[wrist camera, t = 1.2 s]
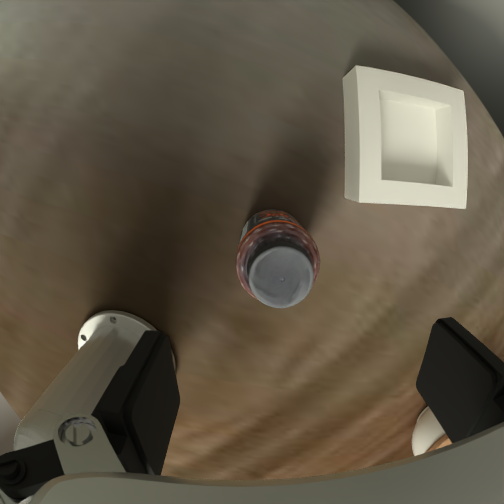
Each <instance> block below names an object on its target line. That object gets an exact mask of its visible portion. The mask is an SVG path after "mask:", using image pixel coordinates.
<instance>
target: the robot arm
mask: <svg viewBox="0 0 504 504" xmlns="http://www.w3.org/2000/svg"><path fill="white" fill-rule="evenodd" d="M175 368H176V365H175V359H174V355H173V353H172V350H171V345H170V339H169V336H168V335H164V333H163V331H157V330H156V329H155V328H154V327H153V326H152V325H151V324H149V323H148V322H146V321H145V320H143V319H142V318H139V317H137V316H135V315H133V314H130V313H127V312H123V311H116V310H108V311H102V312H99V313H96V314H95V315H93V316H92V317H90V318H89V319H88V320H87V321H86V322H85V323H84V325H83V326H82V328H81V329H80V332H79V335H78V351H77V353H76V354H75V355H74V356H73V357H72V359H71V360H70V361H69V362H68V363H67V364H66V366H65V367H64V368H63V369H62V370H61V372H60V373H59V374H58V375H57V376H56V378H55V379H54V380H53V381H52V383H51V384H50V385H49V386H48V388H47V389H46V390H45V391H44V392H43V394H42V395H41V396H40V398H39V399H38V400H37V401H36V403H35V404H34V405H33V406H32V408H31V409H30V410H29V412H28V413H27V414H26V415H25V417H24V418H23V419H22V421H21V422H20V424H19V426H18V428H17V431H16V434H15V440H14V451H13V452H9V453H6V454H3V455H1V456H0V504H504V362H502V361H501V360H500V359H499V358H498V357H497V356H496V355H495V354H494V353H493V352H491V351H490V350H489V349H488V348H487V347H486V346H485V345H484V344H483V343H481V342H480V341H479V340H478V339H477V338H476V337H475V336H473V335H472V334H471V333H470V332H469V331H468V330H466V329H465V328H464V327H463V326H462V325H461V324H459V323H458V322H457V321H456V320H455V319H453V318H452V317H448V318H441V319H438V320H437V321H436V323H435V324H433V326H432V329H431V333H430V337H429V341H428V345H427V348H426V352H425V355H424V359H423V362H422V365H421V368H420V371H419V375H418V378H417V381H416V387H417V390H418V391H419V393H420V394H421V396H422V397H423V399H424V400H425V402H426V403H427V405H428V407H429V408H430V410H431V411H432V413H433V414H434V416H435V417H436V419H437V420H438V422H439V423H440V425H441V427H442V428H443V430H444V431H445V433H446V434H447V436H448V438H449V439H450V441H451V442H452V444H450V445H447V446H444V447H441V448H438V449H435V450H432V451H429V452H426V453H423V454H420V455H416V456H413V457H409V458H406V459H402V460H398V461H395V462H391V463H386V464H382V465H378V466H373V467H369V468H364V469H358V470H353V471H347V472H341V473H335V474H328V475H320V476H312V477H302V478H290V479H273V480H211V479H194V478H182V477H172V476H161V472H162V468H163V464H164V460H165V456H166V453H167V449H168V445H169V442H170V438H171V434H172V430H173V427H174V423H175V420H176V416H177V412H178V409H179V405H180V395H179V390H178V385H177V380H176V374H175Z"/></svg>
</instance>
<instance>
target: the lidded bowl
mask: <svg viewBox="0 0 504 504" xmlns="http://www.w3.org/2000/svg"><path fill="white" fill-rule="evenodd" d="M450 444H452V442H451V441H450V439H449V438H448V436H447V434H446V433H445V431H444V430H443V428H442V427H441V425H440V423H439V422H438V420H437V419H436V417H435V416H434V414H433V413H432V411H431V410H430V408H429V407H428V406H427V407H426V408H425V409H424V410H423V411H422V412H421V414H420V415H419V417H418V419H417V422H416V426H415V428H414V431H413V435H412V449H413V453H414V456H416V455H420V454H423V453H426V452H429V451H432V450H435V449H438V448H441V447H444V446H447V445H450Z"/></svg>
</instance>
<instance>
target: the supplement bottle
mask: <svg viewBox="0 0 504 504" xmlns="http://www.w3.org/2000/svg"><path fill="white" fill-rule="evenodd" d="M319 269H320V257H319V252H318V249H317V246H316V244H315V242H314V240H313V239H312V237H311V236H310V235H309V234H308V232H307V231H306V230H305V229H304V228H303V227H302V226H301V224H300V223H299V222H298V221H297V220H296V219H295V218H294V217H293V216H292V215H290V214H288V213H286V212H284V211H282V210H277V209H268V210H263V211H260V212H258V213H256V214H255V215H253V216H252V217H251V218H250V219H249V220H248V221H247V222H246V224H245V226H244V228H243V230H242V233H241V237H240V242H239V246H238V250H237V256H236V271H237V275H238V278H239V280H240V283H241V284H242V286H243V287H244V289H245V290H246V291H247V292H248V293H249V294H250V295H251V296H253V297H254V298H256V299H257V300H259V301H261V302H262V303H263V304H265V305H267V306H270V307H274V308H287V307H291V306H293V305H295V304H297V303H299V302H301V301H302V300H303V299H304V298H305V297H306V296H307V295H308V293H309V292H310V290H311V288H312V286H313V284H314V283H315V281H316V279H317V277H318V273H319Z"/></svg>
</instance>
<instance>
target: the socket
mask: <svg viewBox="0 0 504 504" xmlns="http://www.w3.org/2000/svg"><path fill="white" fill-rule="evenodd" d="M342 80H343V98H344V125H345V193H344V198H346V199H349V200H353V201H356V202H361V203H384V204H403V205H420V206H434V207H448V208H460V209H466V199H467V174H468V148H467V124H466V110H465V99H464V91H462V90H459V89H456V88H453V87H450V86H447V85H443V84H440V83H436V82H433V81H429V80H425V79H421V78H417V77H413V76H409V75H405V74H400V73H396V72H391V71H386V70H381V69H375V68H369V67H363V66H357V65H356V66H355V67H354V68H353V69H352V70H351V71H350V72H349V73H347V74H346V75H345V76H344V77H343V78H342Z"/></svg>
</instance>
